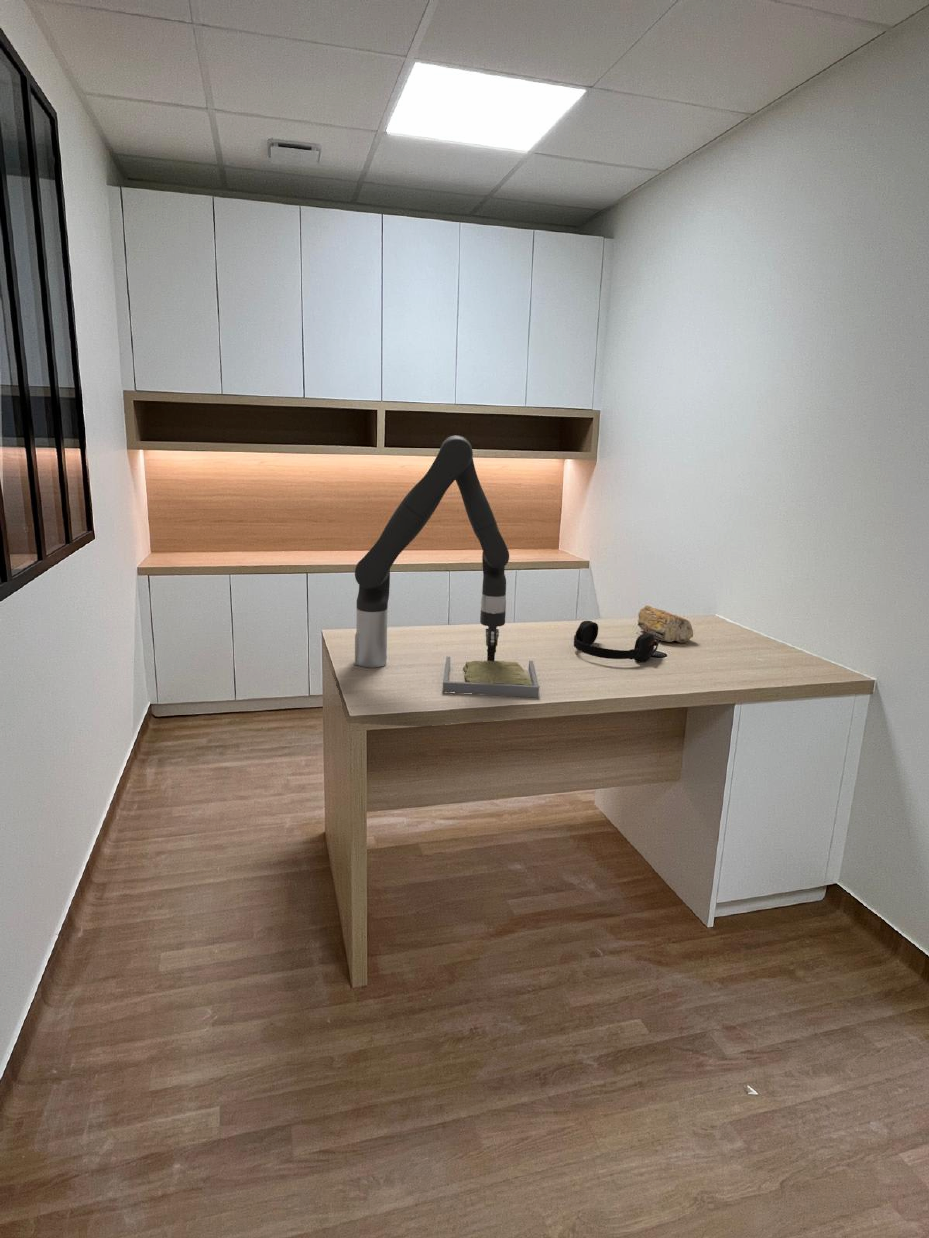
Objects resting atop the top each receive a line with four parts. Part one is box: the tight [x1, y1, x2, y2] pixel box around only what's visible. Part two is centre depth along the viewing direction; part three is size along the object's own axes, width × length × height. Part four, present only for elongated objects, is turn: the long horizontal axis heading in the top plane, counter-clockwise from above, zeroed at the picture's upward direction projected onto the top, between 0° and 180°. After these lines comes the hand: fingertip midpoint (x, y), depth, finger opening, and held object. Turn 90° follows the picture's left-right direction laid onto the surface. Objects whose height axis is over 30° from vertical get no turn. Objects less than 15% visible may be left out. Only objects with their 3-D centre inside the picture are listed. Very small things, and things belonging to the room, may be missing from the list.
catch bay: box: [442, 656, 540, 698], centre depth 215 cm, size 26×23×3 cm
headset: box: [573, 620, 660, 663], centre depth 245 cm, size 28×26×9 cm
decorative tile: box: [462, 660, 533, 686], centre depth 215 cm, size 19×20×4 cm
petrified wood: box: [637, 605, 694, 644], centre depth 269 cm, size 19×13×10 cm
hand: (490, 663), depth 226 cm, fingers closed
